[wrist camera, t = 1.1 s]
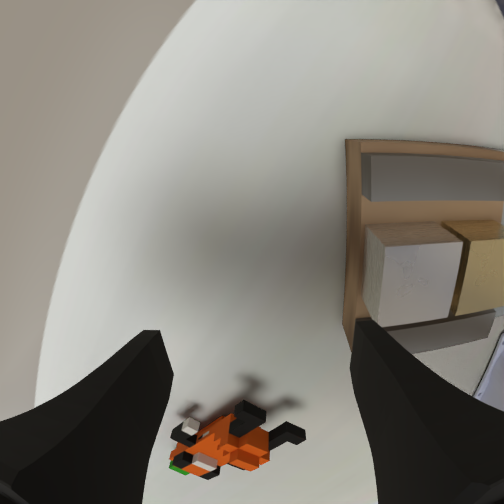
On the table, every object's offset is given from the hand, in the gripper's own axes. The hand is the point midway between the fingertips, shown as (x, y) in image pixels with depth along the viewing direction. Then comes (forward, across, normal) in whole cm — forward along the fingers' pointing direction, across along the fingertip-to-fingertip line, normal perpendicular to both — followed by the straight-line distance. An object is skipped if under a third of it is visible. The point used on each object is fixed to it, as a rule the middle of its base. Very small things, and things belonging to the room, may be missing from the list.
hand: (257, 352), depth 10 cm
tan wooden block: (+6, -12, 0) cm, 13 cm away
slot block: (+9, -10, 0) cm, 14 cm away
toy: (+10, +5, +18) cm, 21 cm away
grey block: (+6, -7, 0) cm, 10 cm away
